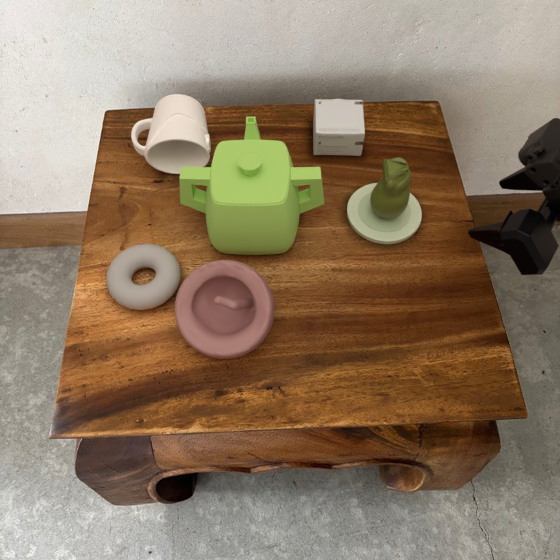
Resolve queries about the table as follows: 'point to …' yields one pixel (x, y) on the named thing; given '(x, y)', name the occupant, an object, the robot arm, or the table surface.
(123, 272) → the donut
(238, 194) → the teapot
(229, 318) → the mortar and pestle
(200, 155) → the mug
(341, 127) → the small box
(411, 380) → the table surface
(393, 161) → the olive green lumpy piece
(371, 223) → the plate
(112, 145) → the table surface
